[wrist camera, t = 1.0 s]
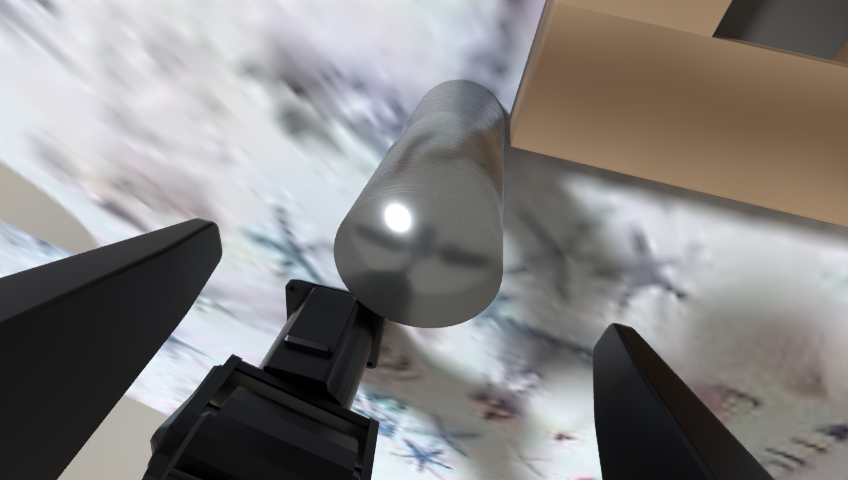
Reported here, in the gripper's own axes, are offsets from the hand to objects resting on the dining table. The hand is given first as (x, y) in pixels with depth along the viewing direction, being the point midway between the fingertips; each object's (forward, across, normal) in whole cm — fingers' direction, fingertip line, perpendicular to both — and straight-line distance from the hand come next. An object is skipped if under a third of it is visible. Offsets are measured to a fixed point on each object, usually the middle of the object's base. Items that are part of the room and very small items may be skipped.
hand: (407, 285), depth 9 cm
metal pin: (+10, 0, 0) cm, 11 cm away
